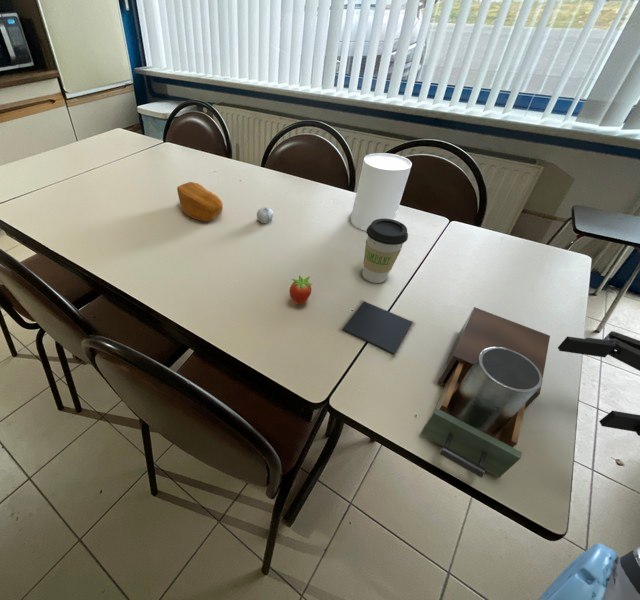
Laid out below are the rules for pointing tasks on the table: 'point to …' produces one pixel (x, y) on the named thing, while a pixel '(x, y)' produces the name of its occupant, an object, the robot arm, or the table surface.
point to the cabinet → (496, 343)
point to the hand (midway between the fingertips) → (582, 377)
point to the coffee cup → (382, 248)
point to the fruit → (300, 290)
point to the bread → (199, 202)
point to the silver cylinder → (494, 389)
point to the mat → (378, 327)
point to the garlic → (265, 215)
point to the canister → (379, 188)
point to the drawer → (472, 435)
